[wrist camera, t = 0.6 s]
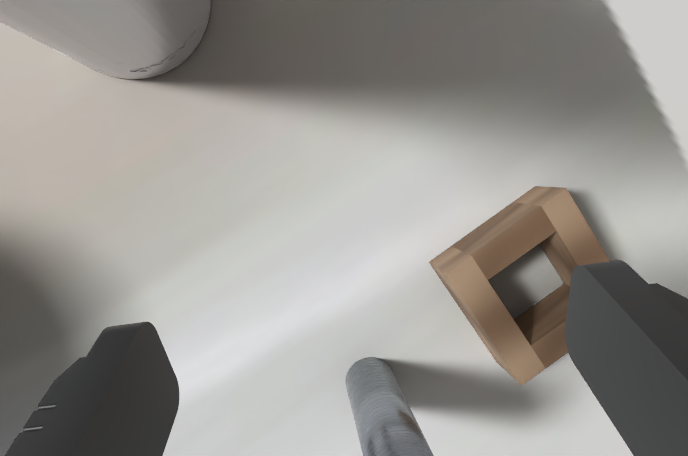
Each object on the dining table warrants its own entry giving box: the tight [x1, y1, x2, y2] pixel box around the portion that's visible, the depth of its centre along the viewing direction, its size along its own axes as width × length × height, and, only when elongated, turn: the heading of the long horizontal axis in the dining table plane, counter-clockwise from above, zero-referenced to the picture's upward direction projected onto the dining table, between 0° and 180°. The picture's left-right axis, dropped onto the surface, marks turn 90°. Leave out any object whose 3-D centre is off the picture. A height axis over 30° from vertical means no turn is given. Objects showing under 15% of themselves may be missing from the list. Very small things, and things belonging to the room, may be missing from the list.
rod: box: [346, 358, 433, 456], centre depth 25 cm, size 3×3×12 cm
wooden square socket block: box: [429, 186, 610, 386], centre depth 29 cm, size 9×9×4 cm
